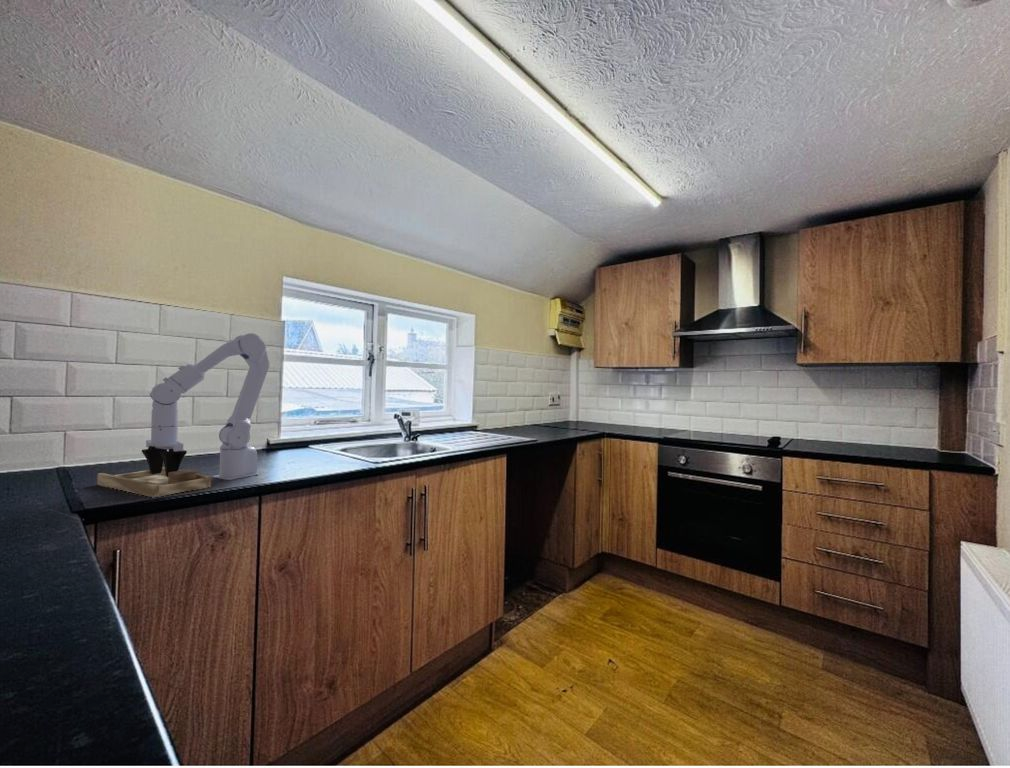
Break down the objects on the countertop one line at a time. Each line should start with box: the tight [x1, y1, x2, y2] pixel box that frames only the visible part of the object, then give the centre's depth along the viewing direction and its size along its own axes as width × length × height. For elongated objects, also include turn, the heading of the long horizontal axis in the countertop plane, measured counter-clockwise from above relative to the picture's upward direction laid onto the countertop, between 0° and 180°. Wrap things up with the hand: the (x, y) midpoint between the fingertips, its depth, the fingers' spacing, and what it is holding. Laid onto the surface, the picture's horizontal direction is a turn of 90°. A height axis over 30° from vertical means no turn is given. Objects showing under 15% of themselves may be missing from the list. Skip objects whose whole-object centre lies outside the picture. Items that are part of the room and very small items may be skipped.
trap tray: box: [96, 466, 212, 497], centre depth 117 cm, size 13×28×3 cm, turn 64°
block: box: [168, 469, 197, 484], centre depth 115 cm, size 4×4×3 cm
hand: (163, 475), depth 119 cm, fingers open, 7 cm apart
